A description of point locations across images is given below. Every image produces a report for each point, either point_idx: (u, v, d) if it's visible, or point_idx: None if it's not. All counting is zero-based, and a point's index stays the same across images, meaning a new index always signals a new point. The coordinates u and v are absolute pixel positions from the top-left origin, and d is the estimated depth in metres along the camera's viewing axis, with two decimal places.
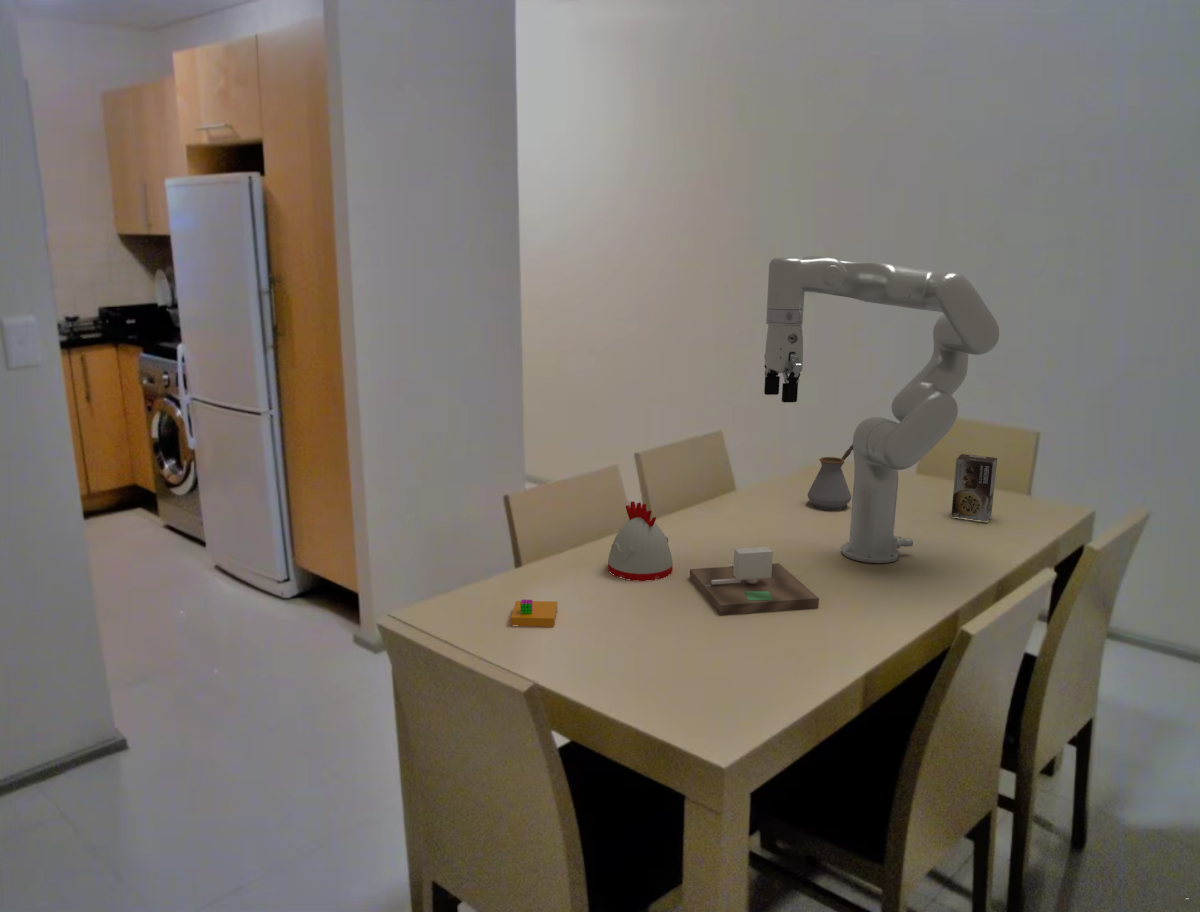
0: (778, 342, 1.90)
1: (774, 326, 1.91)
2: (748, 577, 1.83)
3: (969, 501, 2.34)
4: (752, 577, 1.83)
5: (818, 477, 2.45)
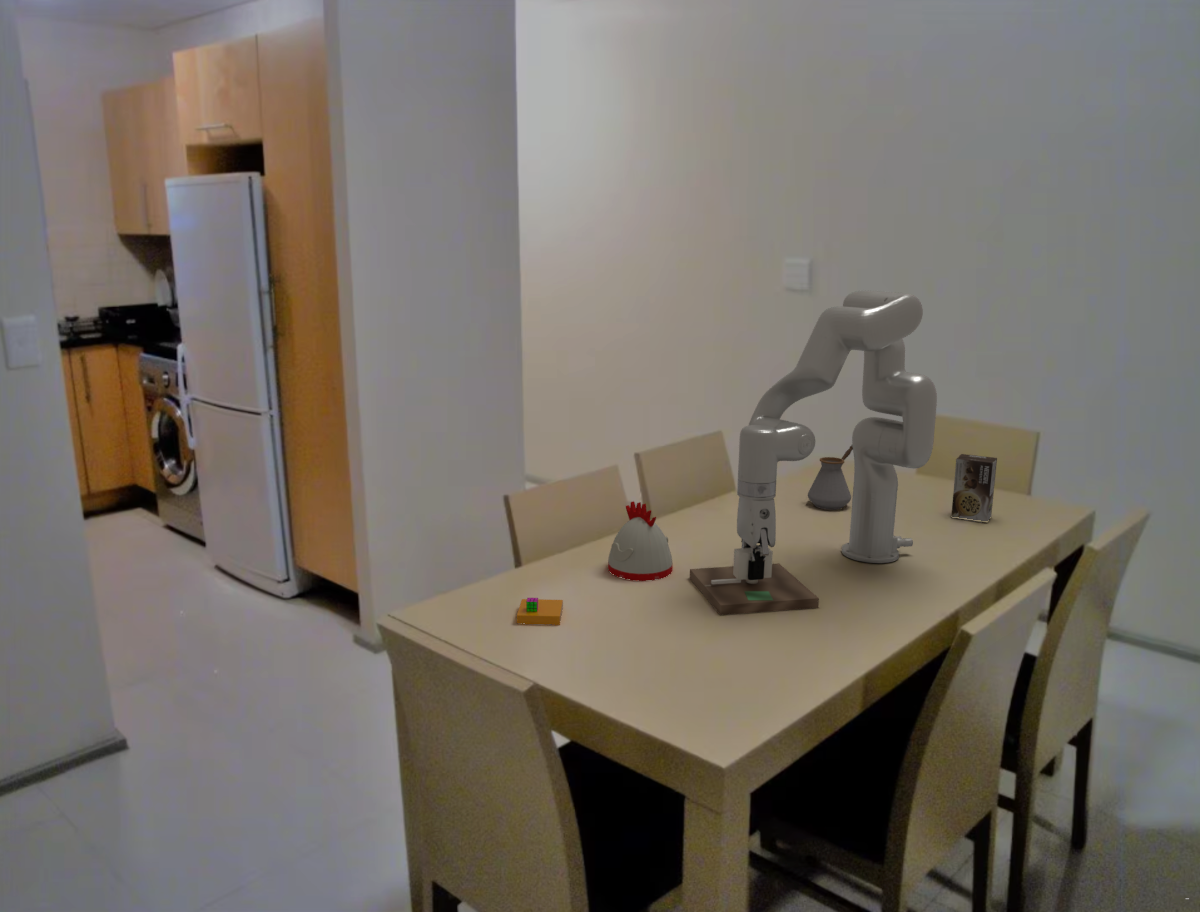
0: (749, 516, 1.78)
1: None
2: None
3: (969, 501, 2.34)
4: None
5: (818, 477, 2.45)
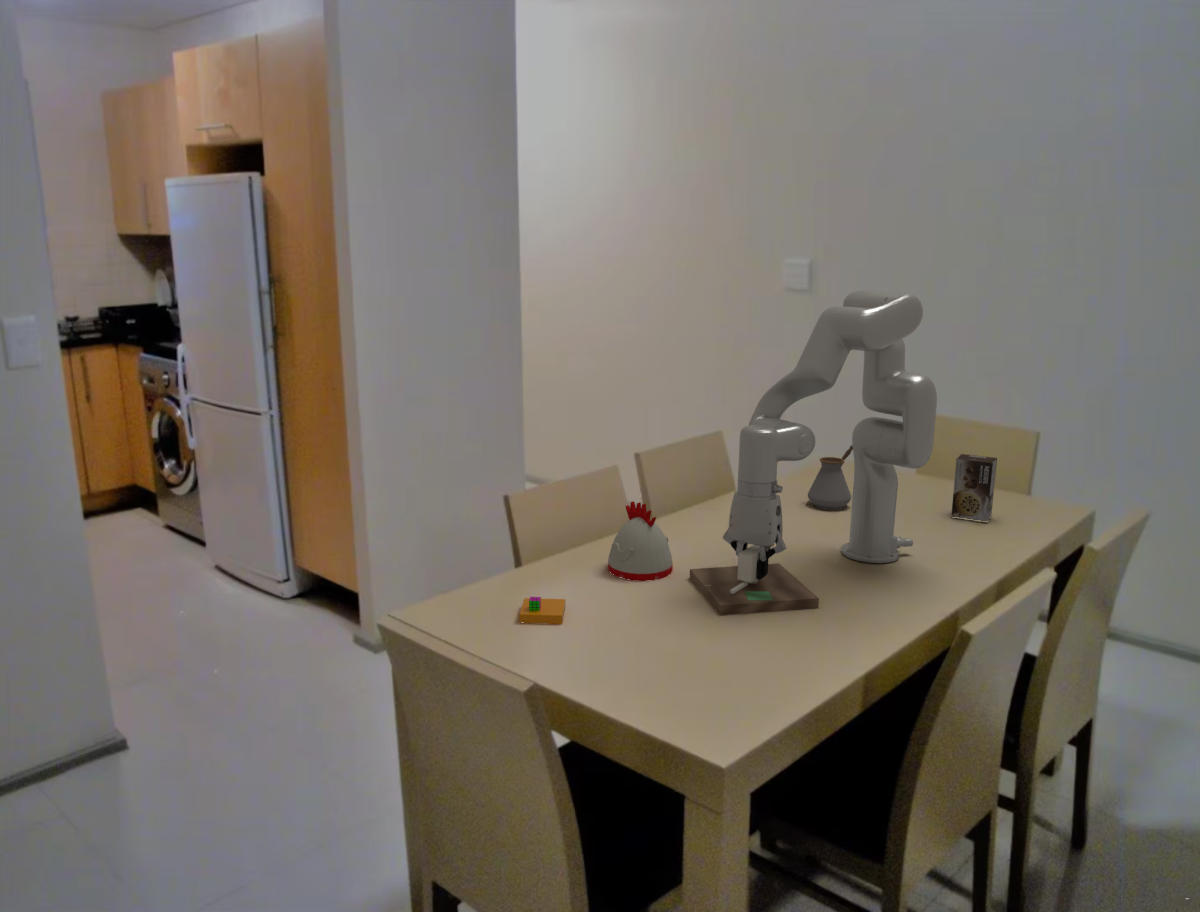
0: (764, 516, 1.78)
1: (755, 500, 1.78)
2: (755, 578, 1.83)
3: (969, 501, 2.34)
4: None
5: (818, 477, 2.45)
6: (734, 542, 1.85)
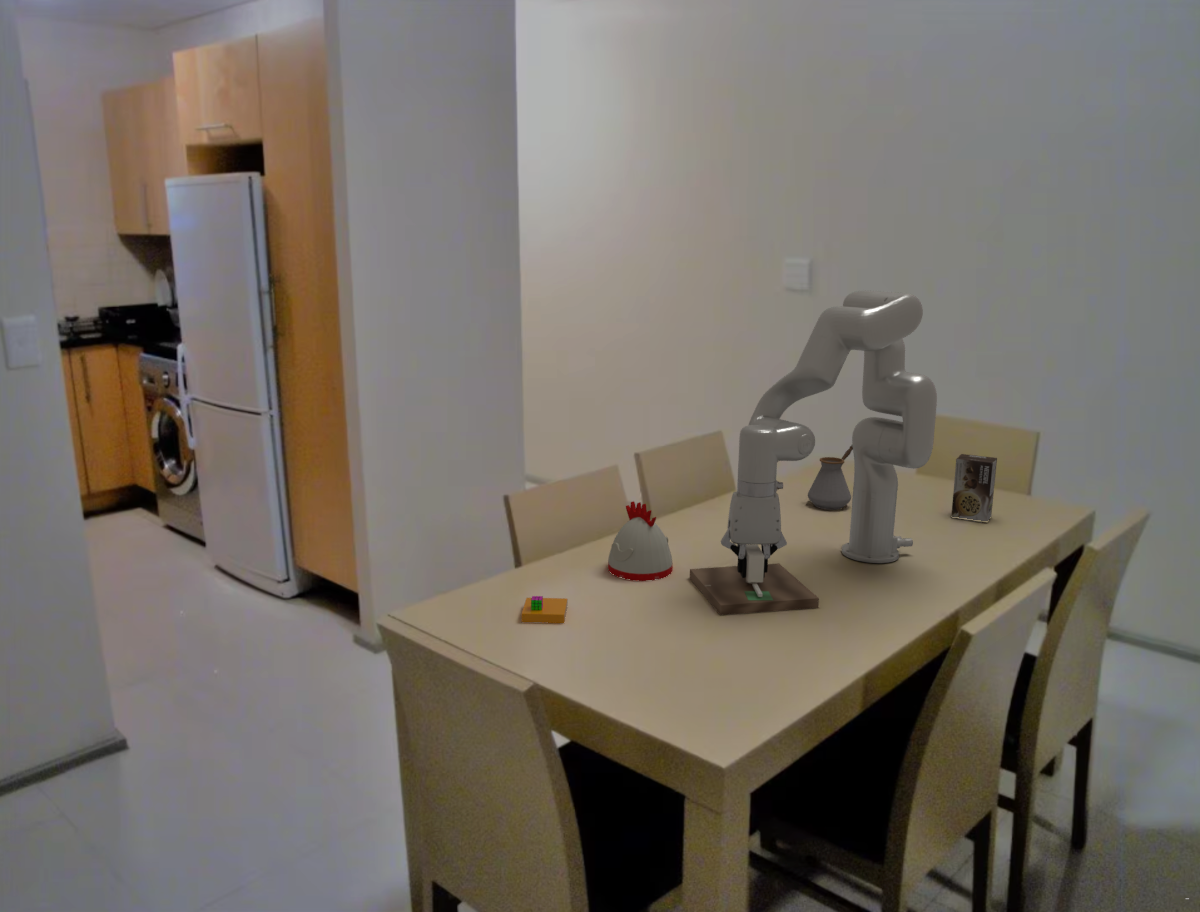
0: (771, 515, 1.80)
1: (762, 500, 1.79)
2: None
3: (969, 501, 2.34)
4: None
5: (818, 477, 2.45)
6: (735, 546, 1.82)
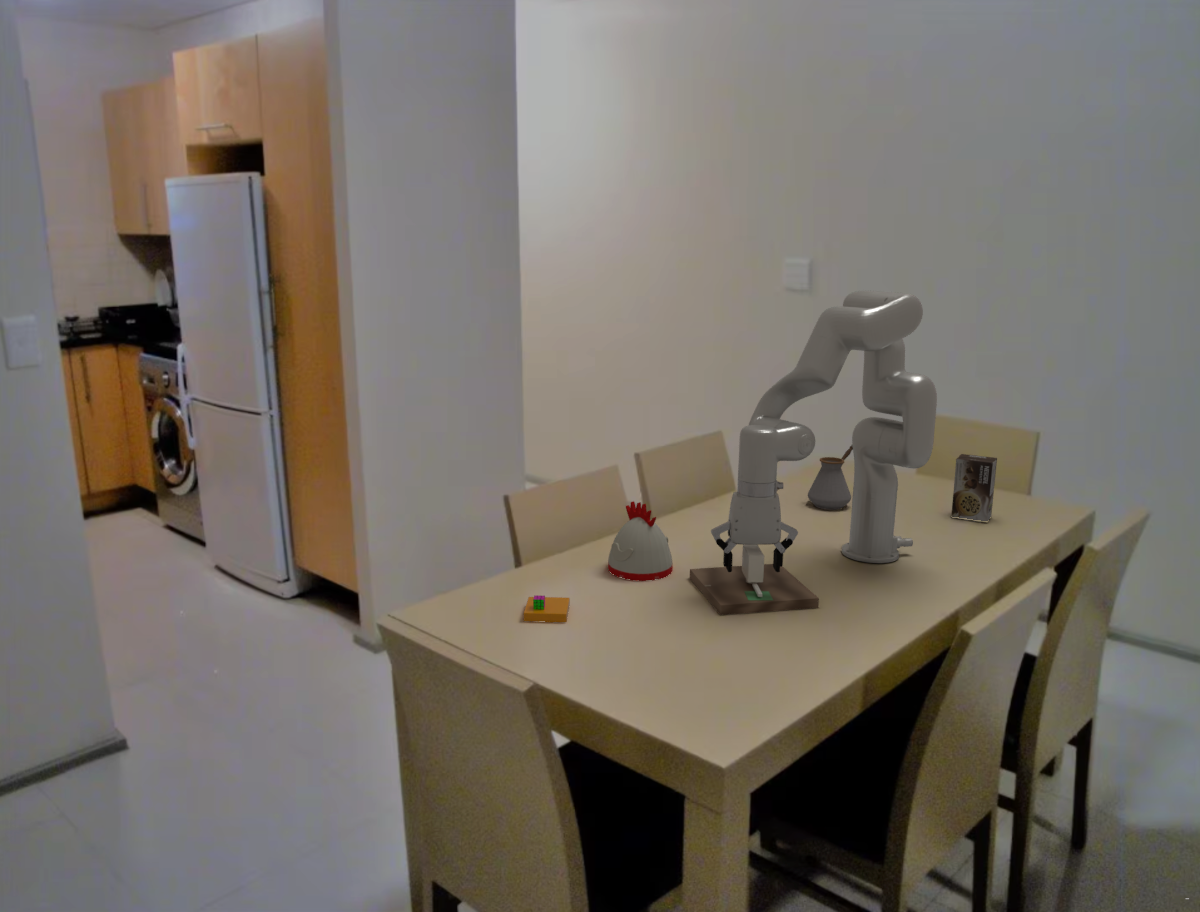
0: (772, 515, 1.79)
1: (763, 500, 1.79)
2: None
3: (969, 501, 2.34)
4: None
5: (818, 477, 2.45)
6: (720, 540, 1.82)
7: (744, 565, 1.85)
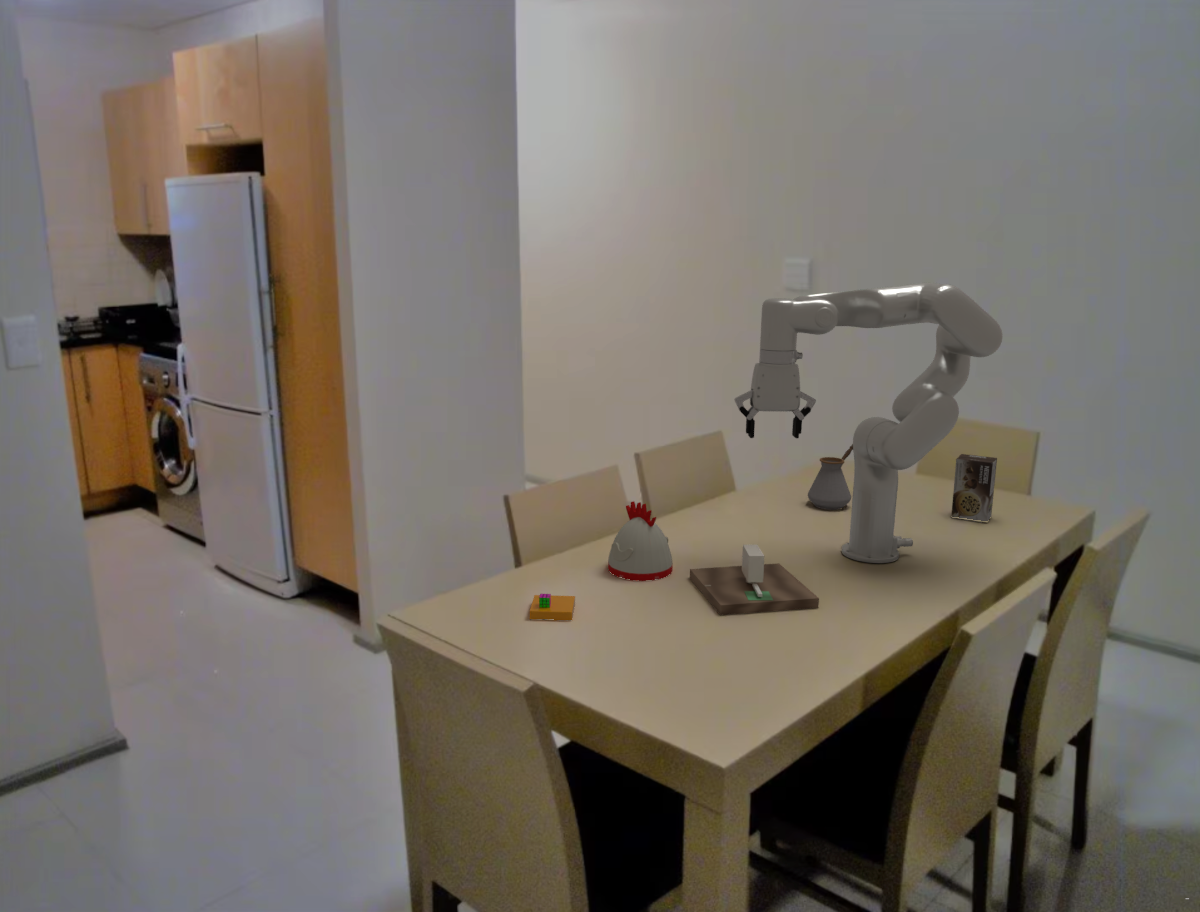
0: (791, 382, 1.92)
1: (783, 367, 1.91)
2: None
3: (969, 501, 2.34)
4: None
5: (818, 477, 2.45)
6: (743, 407, 1.95)
7: (744, 565, 1.85)
